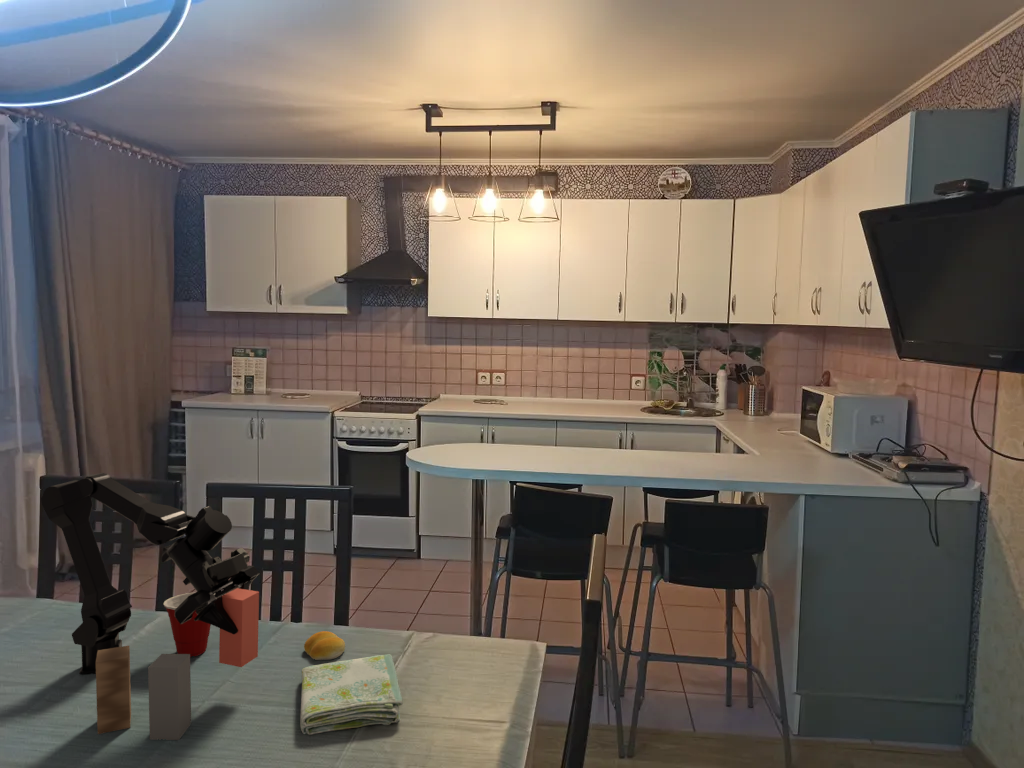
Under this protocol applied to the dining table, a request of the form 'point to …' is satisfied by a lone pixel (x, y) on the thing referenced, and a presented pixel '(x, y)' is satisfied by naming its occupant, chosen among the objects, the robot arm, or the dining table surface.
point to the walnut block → (113, 689)
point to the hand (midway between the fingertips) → (245, 627)
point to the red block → (240, 628)
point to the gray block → (169, 696)
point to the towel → (349, 694)
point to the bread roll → (324, 646)
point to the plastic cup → (187, 629)
